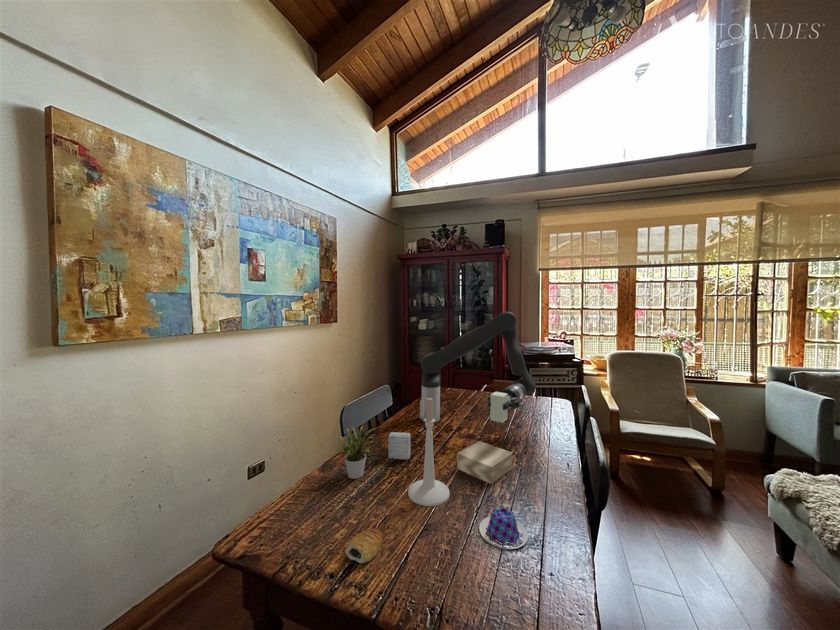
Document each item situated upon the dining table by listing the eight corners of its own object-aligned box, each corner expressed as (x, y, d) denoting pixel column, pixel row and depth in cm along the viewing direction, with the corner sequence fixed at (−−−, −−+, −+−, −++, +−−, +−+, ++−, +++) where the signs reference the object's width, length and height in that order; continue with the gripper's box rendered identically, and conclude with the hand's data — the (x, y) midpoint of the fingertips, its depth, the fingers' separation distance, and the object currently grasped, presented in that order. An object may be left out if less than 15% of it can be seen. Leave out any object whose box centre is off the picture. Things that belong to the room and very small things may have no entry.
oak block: (457, 469, 114) (457, 453, 113) (478, 456, 124) (479, 440, 124) (491, 485, 104) (492, 467, 104) (512, 469, 114) (512, 452, 114)
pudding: (537, 548, 77) (537, 526, 77) (490, 555, 75) (491, 533, 75) (513, 515, 89) (513, 497, 89) (472, 521, 87) (472, 502, 86)
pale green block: (490, 420, 123) (490, 394, 123) (495, 416, 127) (495, 391, 127) (502, 423, 120) (503, 396, 120) (507, 419, 124) (507, 393, 124)
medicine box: (410, 454, 124) (410, 432, 124) (409, 460, 120) (409, 437, 119) (390, 453, 125) (390, 431, 124) (388, 459, 120) (388, 436, 120)
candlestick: (419, 511, 90) (420, 406, 89) (401, 487, 102) (401, 394, 100) (457, 498, 96) (458, 400, 95) (436, 478, 107) (437, 389, 106)
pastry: (367, 532, 82) (367, 517, 82) (389, 541, 79) (389, 526, 79) (342, 557, 74) (342, 541, 74) (366, 569, 71) (366, 552, 71)
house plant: (388, 469, 112) (388, 424, 112) (365, 490, 100) (365, 439, 99) (354, 461, 118) (354, 417, 118) (329, 479, 106) (329, 431, 105)
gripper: (495, 384, 139) (479, 393, 125) (529, 389, 131) (515, 399, 117) (495, 401, 140) (478, 412, 126) (528, 407, 131) (515, 419, 117)
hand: (496, 406), depth 121 cm, fingers closed on pale green block, 5 cm apart
